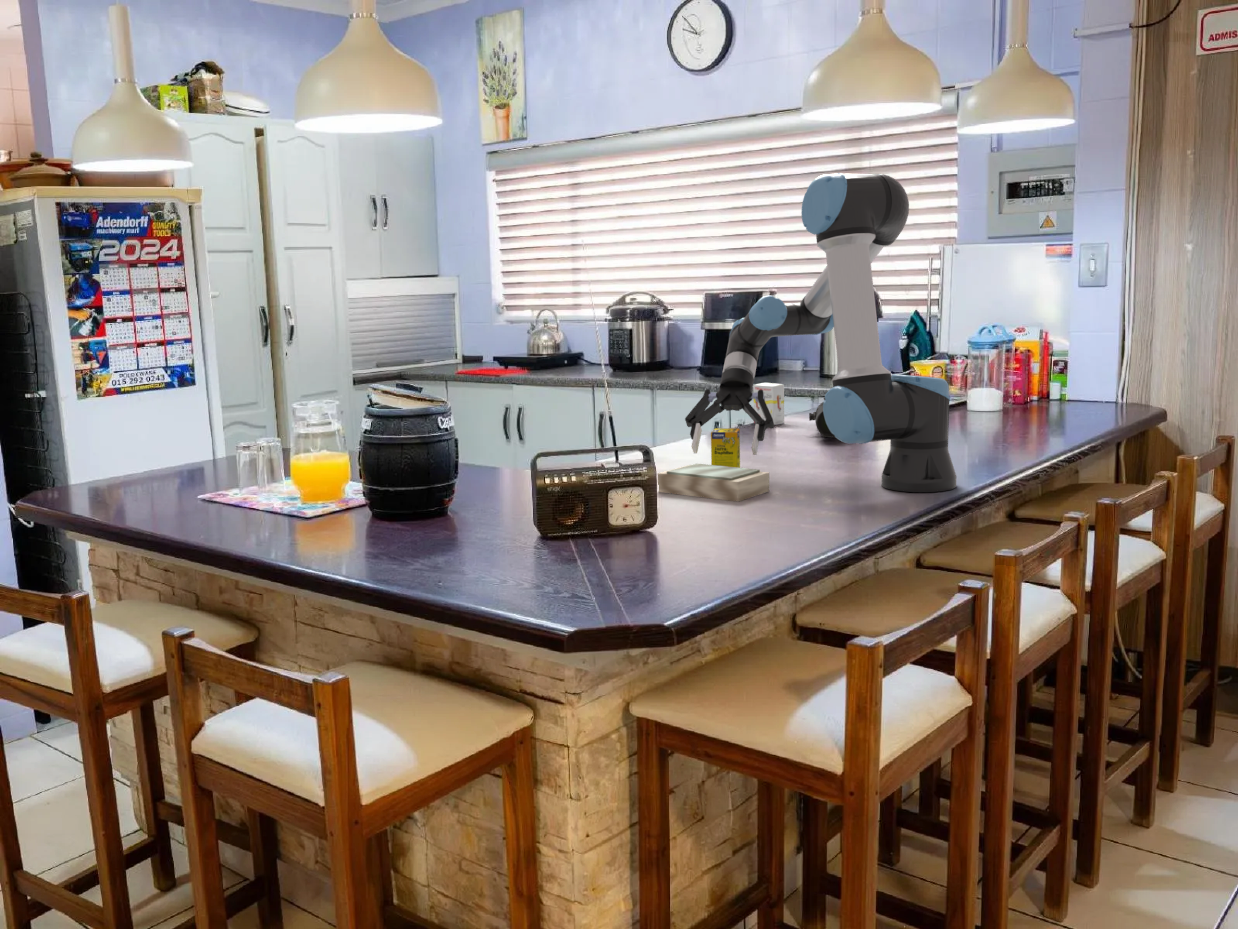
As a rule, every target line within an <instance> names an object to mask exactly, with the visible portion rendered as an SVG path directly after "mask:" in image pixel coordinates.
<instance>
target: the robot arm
mask: <svg viewBox="0 0 1238 929" xmlns="http://www.w3.org/2000/svg"><path fill="white" fill-rule="evenodd" d="M909 212H910V201H909V196H908V194H907V192H906V190H905V188H904V187H903V185H902V184H901V183H900V182H899V181H898V180H896V179H895V178H893V177H892V176H890V175H886V174H884V173H882V174H881V173H842V172H836V173H830V174H828V173H827V174H825V173H824V174H822V175H819V176H818V177H815V179H814V180H812V182H810V184H809V185H808V187H807V190H806V192H805V193H804V196H803V198H802V203H801V213H800V214H801V221H802V224H803V227H805V230H806V231H807V232H808V233H810V234H811V235H815V237H816V244H817V247H818V248H819V249H821V251H823V252H824V254H825V258H826V267H825V268H824V269H823V271H822V272H821V273H820V275H819V276H818V278H817V279H816V280H815V282H814V283H813V285H812V286H811V287H810V289H809V290H808V291H807V293H806V294H805V296H804V297H803V298H802V300H801V301H800V302H788V303H787V302H786V303H785V302H784V301H783V300H782V299H780V298H779V297H775V296H773V295H764V296H762V297H760V298H759V299H758V300H757V302H756V303H754V304H753V305H752V307H751V308H750V309H749V311H748V313H747V314H746V315H745V317H742V318H740V319H737V320H736V321H734V323H733V324H732V326H731V330H730V331H729V335H728V343H727V349H726V353H725V358H724V364H723V369H722V373H721V379H720V382H719V383H720V384H719V388H718V390H717V391H716V392H715V391H711V390H710V389H709V388H707V389H705V390H704V393H703V395H702V397H701V399H699V401H698V402H697V403H696V405H695V406H694V407H692V410H690V411H689V413H688V414H687V415H686V416H685V418H684V421H685V424H686V427H688V428H690V432H689V435H690V438H691V440H692V442H691V449H692V452H693V454H698V451H699V448H700V446H699V445H700V442H701V437H702V436H701V435H702V432H703V430H702V427H703V426H704V425H705V424H707V423H708V422H709V421H711V419H713V418H714V417H715V416H716V415H718V414H721V413H722V412H723V411H726V412H727V411H729V412H730V411H735V412H740V410H743V411H744V412H745V414H747V415H748V416H749V417H750V419H751V420H752V421H753V423H754V422H755V423H754V424H755V425H754V430H753V438H752V441H751V442H752V443H751V447H750V448H751V451H752V455H754V456H757V455H758V448H759V443H760V442H764V439H765V433H766V430H767V429H774V428H775V425H774V422H773V418H772V416H771V414H770V412H769V410H768V407H767V405H766V403H765V397H764V393H763V390H759V391H758V392H757V393H753V385H754V382H755V376H756V371H757V370H756V369H757V365H758V359H759V356H760V351H761V350H762V348H763V347H764V346H765V345H766V344H767V343H768V341H769V340H770V339H771V338H774V337H789V336H791V337H792V336H807V335H808V336H809V335H810V336H811V335H813V336H817V335H820V334H826V333H829V332H831V331H834V339H835V340H834V341H835V347H836V357H837V366H838V371H837V372H836V374H834V376H833V377H832V381H831V382H832V388H830V389H828V391H827V392H826V393H825V395H824V397H825V399H826V400H824V399H823V401H822V402H823V413H824V418H825V421H826V424H827V426H828V428H829V430H830V431H831V433H832V434H834V435H835V437H836V439H837V440H838V441H841V442H842V443H845V444H859V445H860V444H861V445H862V444H868V443H873V442H882V441H884V442H885V441H890V442H889V444H890V446H889V447H890V448H889V452H888V455H887V458H886V461H885V464H884V467H883V469H882V472H881V482H880V483H881V487H882V488H884V489H887V490H893V491H898V492H904V493H905V492H908V493H937V492H944V491H945V492H946V491H950V490H953V489H955V488H957V473H956V470H955V468H954V464H953V460H952V458H951V454H950V451H949V429H950V428H949V426H950V425H949V423H950V420H949V419H950V401H951V397H950V389H949V388H950V386H949V383H948V382H947V380H946V379H944V378H941V377H931V376H921V375H920V376H919V375H910V374H898V373H897V374H896V373H895V374H892V373H891V371H890V370H889V369H887V368H886V367H885V366H884V365H883V364H882V363H883V361H882V354H881V353H882V352H881V345H880V343H881V342H880V336H879V326H878V317H877V308H876V299H875V291H874V290H875V289H874V282H873V281H874V279H873V272H872V263H873V262H874V260H875V259H876V258H877V256H878V255H879V254H880V252H882V250H883V248H885V247H889V246H891V245H892V244H893V243H894V242H895V241H896V240H897V238H898V237H899V235H900V234H901V233H902V231H903V230H904V228H905V226H906V224H907V220H908V219H909V218H908V217H909ZM891 374H892V375H891ZM754 399H755V401H756V402H757V403H759V405H760V408H761V410H762V412H763V414H764V417H765V419H766V420H765V421H764V419H762V418H761V417H760V415H759V414H758V413H757V412H756V411H755V410H754V406H752V405H751V403H750V402H751V401H753V400H754ZM711 403H712V404H711Z"/></svg>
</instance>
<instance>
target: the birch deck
mask: <svg viewBox="0 0 1238 929" xmlns="http://www.w3.org/2000/svg"><path fill="white" fill-rule="evenodd" d="M658 485H659V492H658V493H666V494H671V493H672V494H673V495H680V496H681V495H682V496H689V497H698V498H707V499H714V500H721V501H722V500H723V501H729V502H730V501H731V502H742V501H743V500H748V499H750V498H753V497H757V496H760V495H762V494H765V493H769V492H770V472H769V471H761V470H760V469H756V468H745V467H740V468H737V467H727V466H717V465H711V464H706V463H705V464H704V463H692V464H688V465H684V466H680V467H676V468H673V469H669V470H665V471H661V472H658V473H657V486H658ZM672 494H671V495H672Z"/></svg>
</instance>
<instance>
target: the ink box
mask: <svg viewBox="0 0 1238 929" xmlns="http://www.w3.org/2000/svg"><path fill="white" fill-rule="evenodd" d="M759 390H763V393H764V397H765V403H766V405H767V407H768V410H769V412H770V414H771V416H772V418H773V422H774V426H775V425H776V426H777V425H782V424H785V385H784V383H783V384H782V383H774V382H772V383H771V382H761V383H756V384H753V388H752V393H757V392H758V391H759ZM753 408H754V410H755V411H756V412H757V413H758V414H759V415H760V417H761V418H762V419H764V421H765V420H766V419H765V417H764V414H763V412H762V410H761V408H760V405H759V403H757V402H756V401H755V399H753ZM753 424H756V423H755V422H754V421H753Z"/></svg>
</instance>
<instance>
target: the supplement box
mask: <svg viewBox="0 0 1238 929" xmlns="http://www.w3.org/2000/svg"><path fill="white" fill-rule="evenodd" d="M740 430H741V429H740V428H722V427H721V428H720V427H719V428H713V430H711V432H710V454H711V455H710V458H711V459H710V460H711V462H710V463H711V464H710V465H717V466H727V467H737V468H741V445H740V444H741V443H740V442H741V438H740V437H741V436H740V435H741V434H740V433H741V431H740Z"/></svg>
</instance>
